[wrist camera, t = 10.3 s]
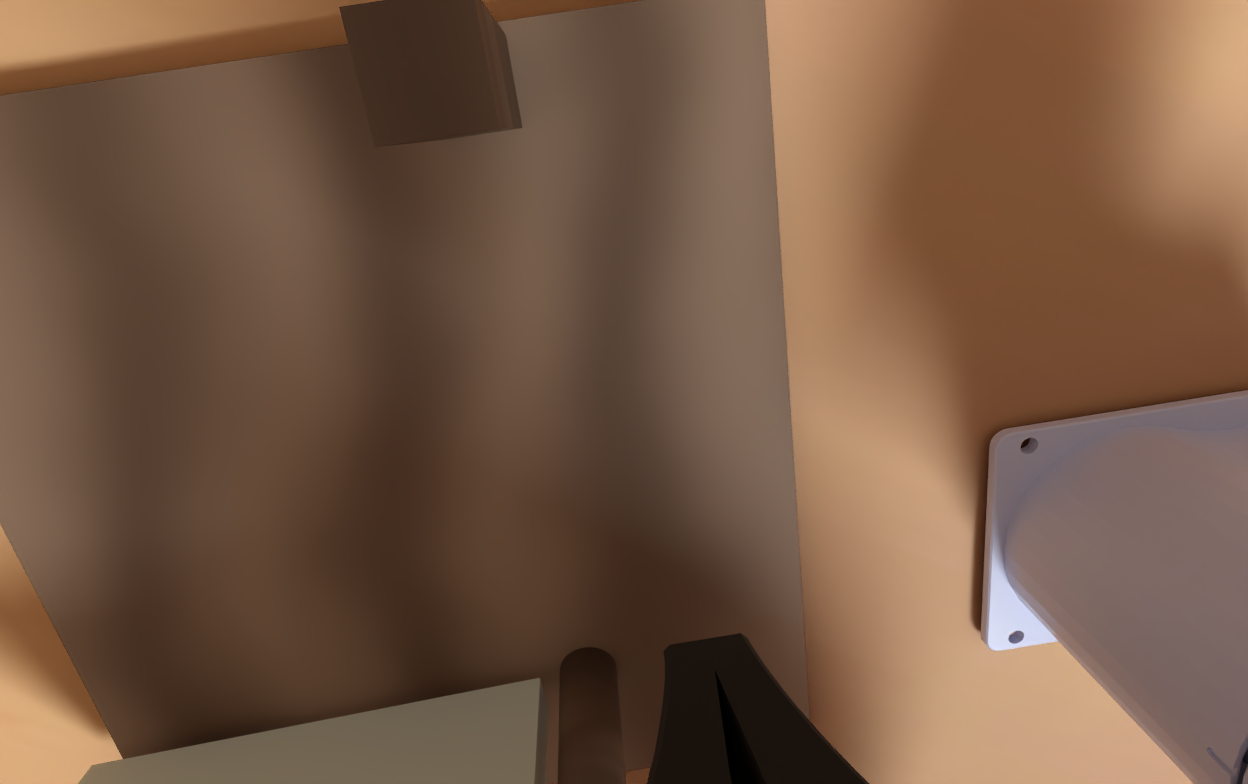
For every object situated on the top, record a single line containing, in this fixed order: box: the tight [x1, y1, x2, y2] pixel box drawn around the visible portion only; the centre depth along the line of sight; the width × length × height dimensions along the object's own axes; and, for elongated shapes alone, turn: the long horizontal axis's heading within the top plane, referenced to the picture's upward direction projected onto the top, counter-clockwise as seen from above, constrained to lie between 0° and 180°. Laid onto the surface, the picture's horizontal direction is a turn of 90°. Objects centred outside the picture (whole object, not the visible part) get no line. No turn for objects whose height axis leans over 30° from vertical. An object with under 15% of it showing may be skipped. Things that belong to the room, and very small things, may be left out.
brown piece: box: [0, 0, 810, 784], centre depth 18 cm, size 22×23×7 cm
